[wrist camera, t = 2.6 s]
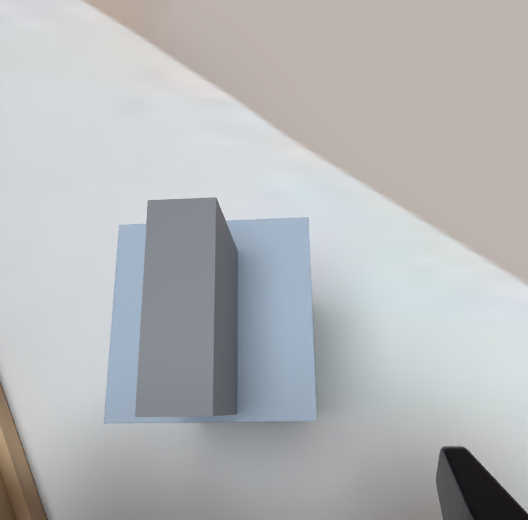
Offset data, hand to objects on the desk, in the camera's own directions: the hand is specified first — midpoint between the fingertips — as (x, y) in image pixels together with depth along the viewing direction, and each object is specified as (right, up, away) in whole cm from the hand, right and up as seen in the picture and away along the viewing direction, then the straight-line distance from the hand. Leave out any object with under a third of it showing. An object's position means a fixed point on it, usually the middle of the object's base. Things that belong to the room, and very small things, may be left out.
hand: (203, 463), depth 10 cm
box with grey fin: (+1, 0, +11) cm, 11 cm away
